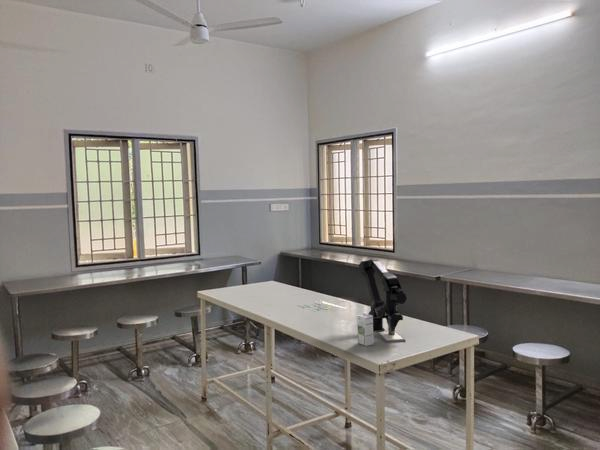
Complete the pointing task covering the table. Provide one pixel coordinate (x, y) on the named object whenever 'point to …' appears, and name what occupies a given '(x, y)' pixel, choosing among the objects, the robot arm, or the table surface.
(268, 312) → the table surface
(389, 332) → the marker
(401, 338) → the writing board
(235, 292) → the table surface
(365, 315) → the syrup box
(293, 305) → the table surface
